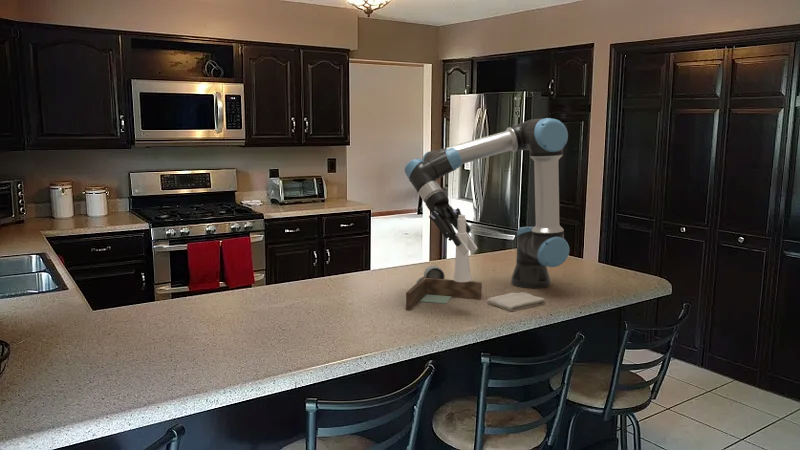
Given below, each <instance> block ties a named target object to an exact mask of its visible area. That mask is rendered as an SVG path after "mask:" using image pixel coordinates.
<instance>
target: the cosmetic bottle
mask: <svg viewBox="0 0 800 450" xmlns="http://www.w3.org/2000/svg"><path fill="white" fill-rule="evenodd" d="M458 217H459V218H458V231H457V232H456V236H457V235H459V236H460V237H461V239H462V240H463V242H464V243H465V245H466V246H467V248H468V235H467V232H466V222H467V218H466V215H465V214H462V215H458ZM469 251H470V250H469ZM469 251H468V252H467V253H466V254H465V255H463V254H462V253H461V251H460V250H459V248H458V247H457V246H456V245H455V259H454V260H455V261H454V262H455V264H454V273H453V279H452V280H454V281H456V282H469V281H473V280H472V274H471V267H470V266H471V265H470V255H469V254H470V253H469Z"/></svg>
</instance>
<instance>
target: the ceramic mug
mask: <svg viewBox="0 0 800 450" xmlns="http://www.w3.org/2000/svg"><path fill="white" fill-rule="evenodd" d="M445 277H446V276H445V272H444V271H443V270H442V268H440V267H439V266H438V265H430V266H427V267H426V269H425V270H424V272H423V276H422V277H420V278H418V279H417V280H416V284H417V283H418V282H419V281H420V280H421V279H422V278H434V279H445Z"/></svg>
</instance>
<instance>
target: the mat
mask: <svg viewBox="0 0 800 450" xmlns="http://www.w3.org/2000/svg"><path fill="white" fill-rule="evenodd" d="M452 298H453V297H452V296H442V295H430V294H426V295H425V296H424V297H423V298H422V299H421V300H420V301H419V302H418V303H427V304H428V303H430V304H440V305H441V304H442V305H446V304H447V303H448V302H449V301H450V300H451V299H452Z"/></svg>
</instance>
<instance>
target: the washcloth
mask: <svg viewBox="0 0 800 450" xmlns="http://www.w3.org/2000/svg"><path fill="white" fill-rule="evenodd" d="M486 301H487V304H488V305H490V306H493V307H494V308H495V307H496V308H499V309H501V310H505V311H507V312H515V311H520V310H526V309H529V308H534V307H538V306H543V305H546V299H545V298H544V297H541V296H536V295H532V294H531V293H528V292H523V291H521V292H509V293H505V294H500V295H495V296H491V297H489V298H488V299H487V300H486Z"/></svg>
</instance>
